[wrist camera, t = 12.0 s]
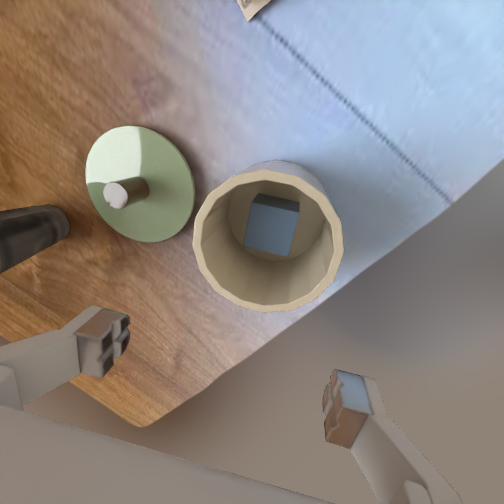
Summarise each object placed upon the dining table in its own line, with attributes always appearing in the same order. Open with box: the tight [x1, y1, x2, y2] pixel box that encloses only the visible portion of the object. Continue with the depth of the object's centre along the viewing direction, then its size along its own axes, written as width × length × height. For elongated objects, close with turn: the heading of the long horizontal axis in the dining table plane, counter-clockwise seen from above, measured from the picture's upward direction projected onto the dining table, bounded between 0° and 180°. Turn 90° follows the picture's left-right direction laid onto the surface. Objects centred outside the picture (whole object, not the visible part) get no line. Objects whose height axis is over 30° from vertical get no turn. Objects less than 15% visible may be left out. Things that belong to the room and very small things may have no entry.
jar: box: [192, 160, 344, 313], centre depth 25 cm, size 11×11×10 cm
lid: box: [86, 125, 195, 242], centre depth 28 cm, size 12×12×5 cm
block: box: [243, 193, 300, 257], centre depth 27 cm, size 4×4×4 cm
